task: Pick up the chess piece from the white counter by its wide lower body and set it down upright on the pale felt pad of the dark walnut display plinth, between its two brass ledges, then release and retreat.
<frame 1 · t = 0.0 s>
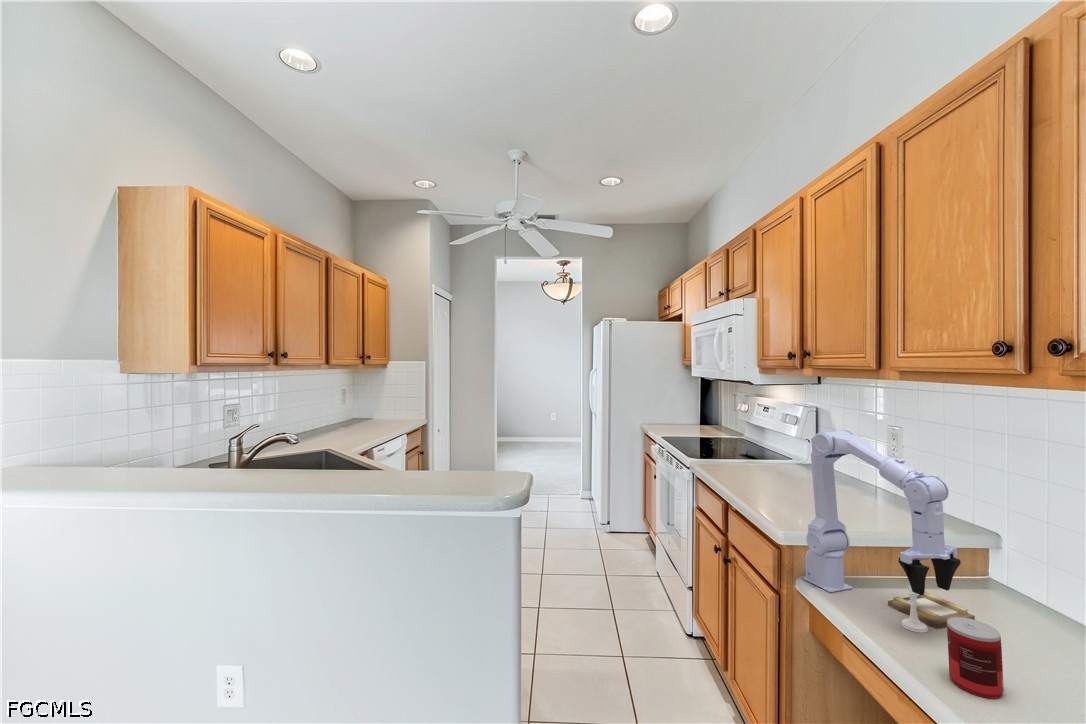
hand: (930, 590, 109), 10 cm above the countertop, fingers open, 7 cm apart
canned food: (976, 686, 91), on the countertop
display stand: (929, 613, 119), on the countertop
chess piece: (914, 628, 112), on the countertop
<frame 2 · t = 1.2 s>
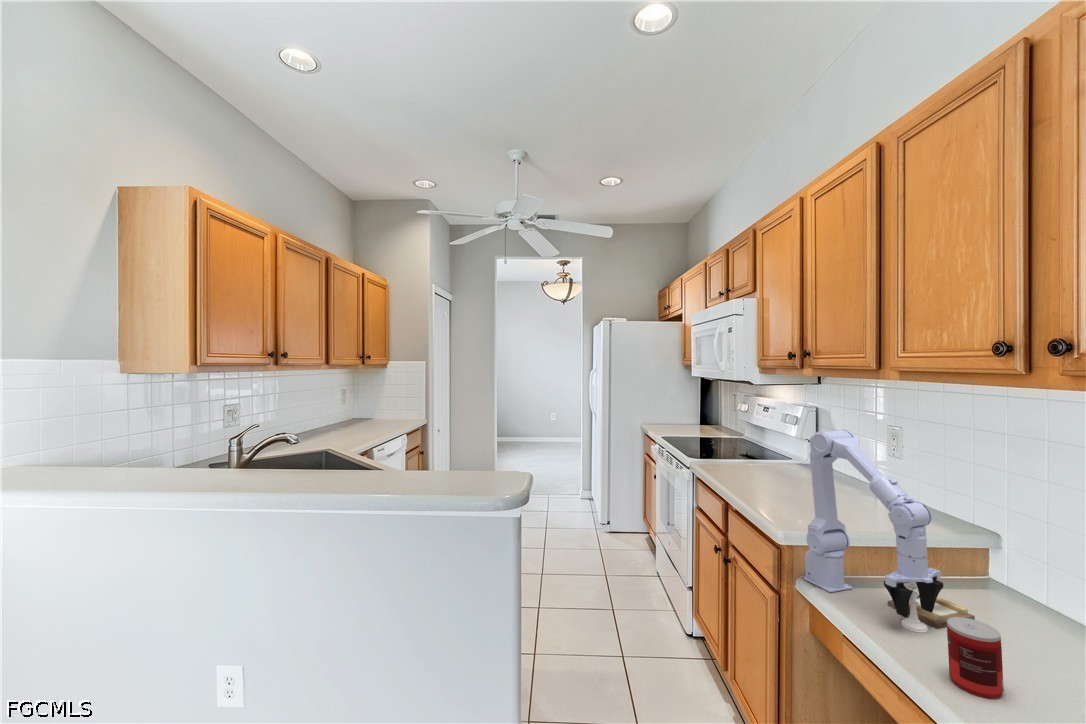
hand: (914, 612, 112), 3 cm above the countertop, fingers open, 7 cm apart
nothing on the countertop moved.
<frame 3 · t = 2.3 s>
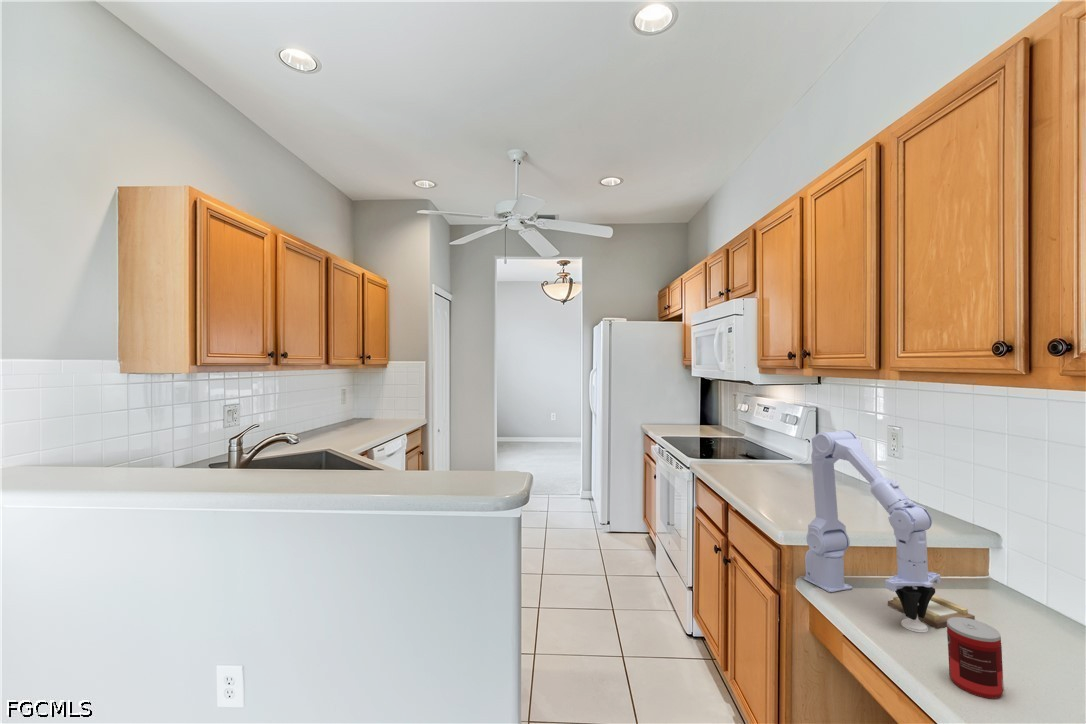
hand: (914, 617, 112), 2 cm above the countertop, fingers closed on chess piece
chess piece: (914, 627, 112), on the countertop, touching gripper
everything else where it was.
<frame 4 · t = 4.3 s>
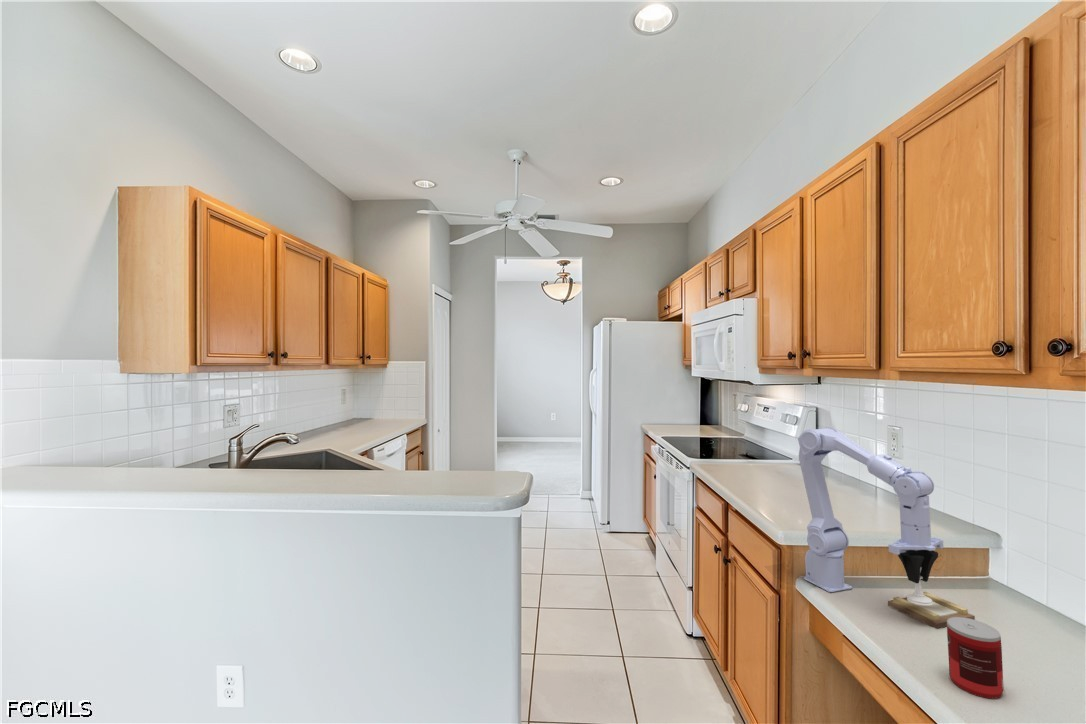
hand: (917, 580, 115), 10 cm above the countertop, fingers closed on chess piece, 2 cm apart
chess piece: (920, 602, 114), point 5 cm above the countertop, touching gripper
everything else where it was.
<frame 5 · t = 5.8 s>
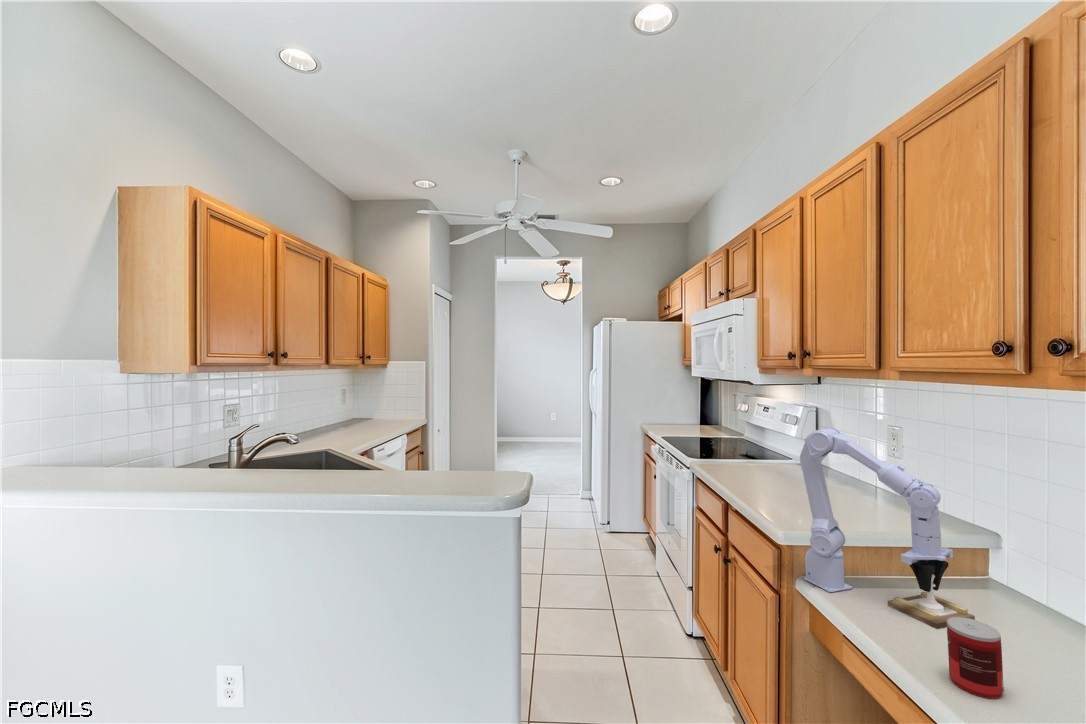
hand: (928, 589, 119), 6 cm above the countertop, fingers closed on chess piece, 2 cm apart
chess piece: (931, 608, 118), point 1 cm above the countertop, touching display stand, gripper
everything else where it was.
when the fingers open (5 cm above the countertop, at t = 6.3 s): chess piece stays where it is, resting on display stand.
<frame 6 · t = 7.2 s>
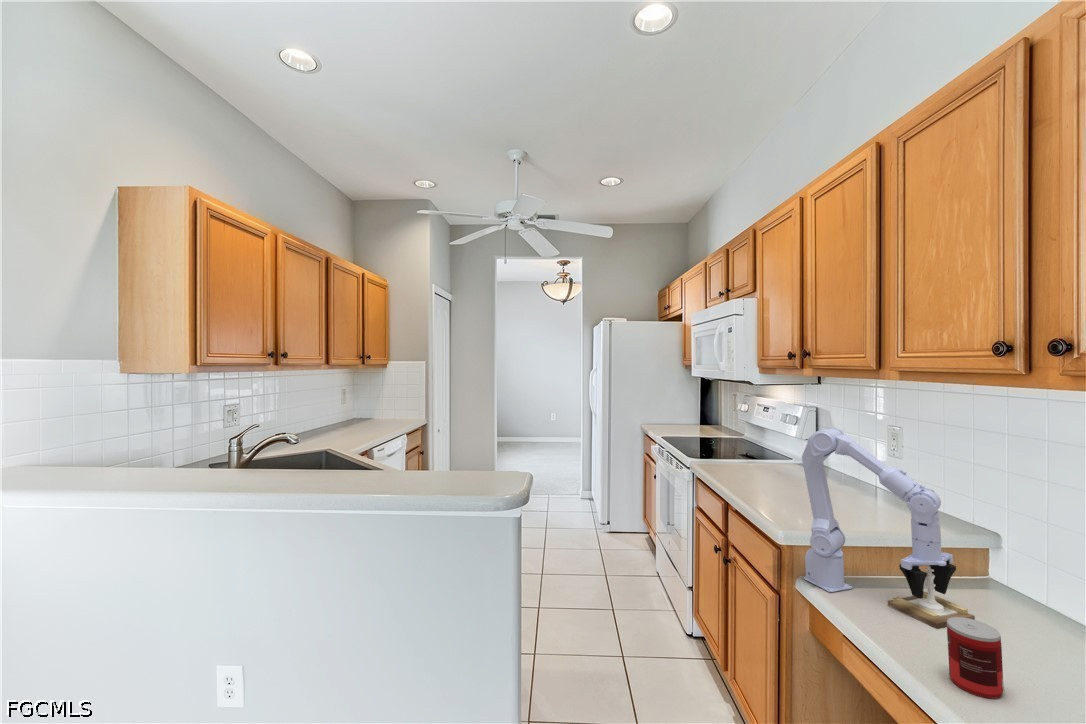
hand: (928, 594, 119), 5 cm above the countertop, fingers open, 7 cm apart
chess piece: (931, 608, 118), point 1 cm above the countertop, touching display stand
everything else where it was.
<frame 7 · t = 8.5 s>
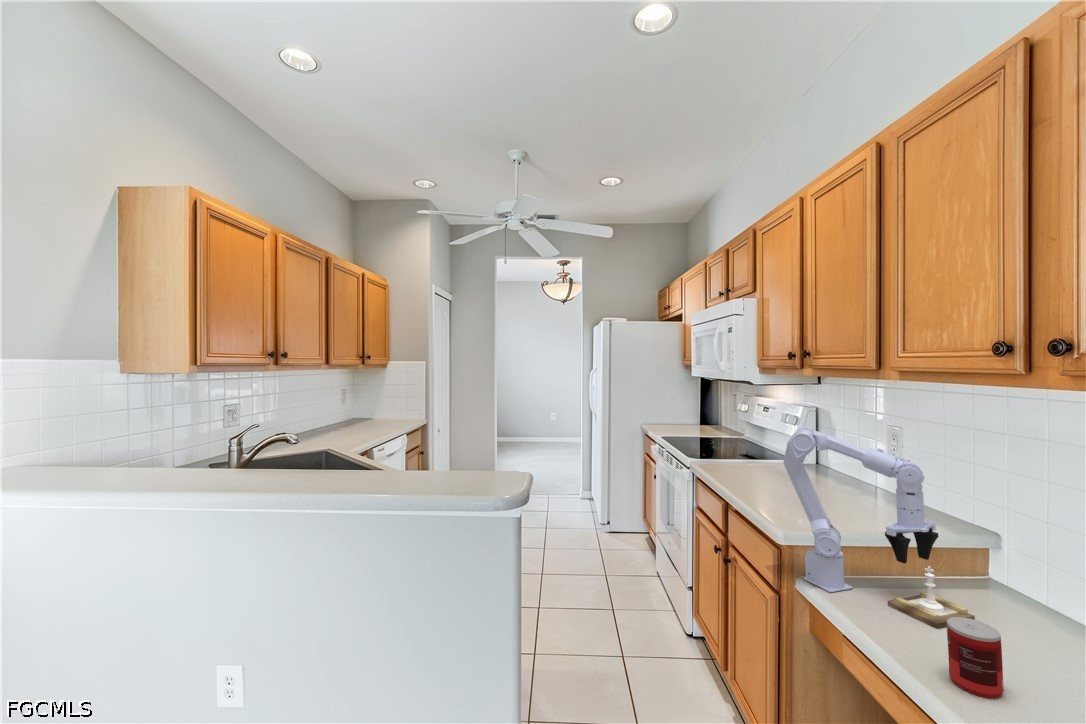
hand: (912, 560, 125), 10 cm above the countertop, fingers open, 7 cm apart
nothing on the countertop moved.
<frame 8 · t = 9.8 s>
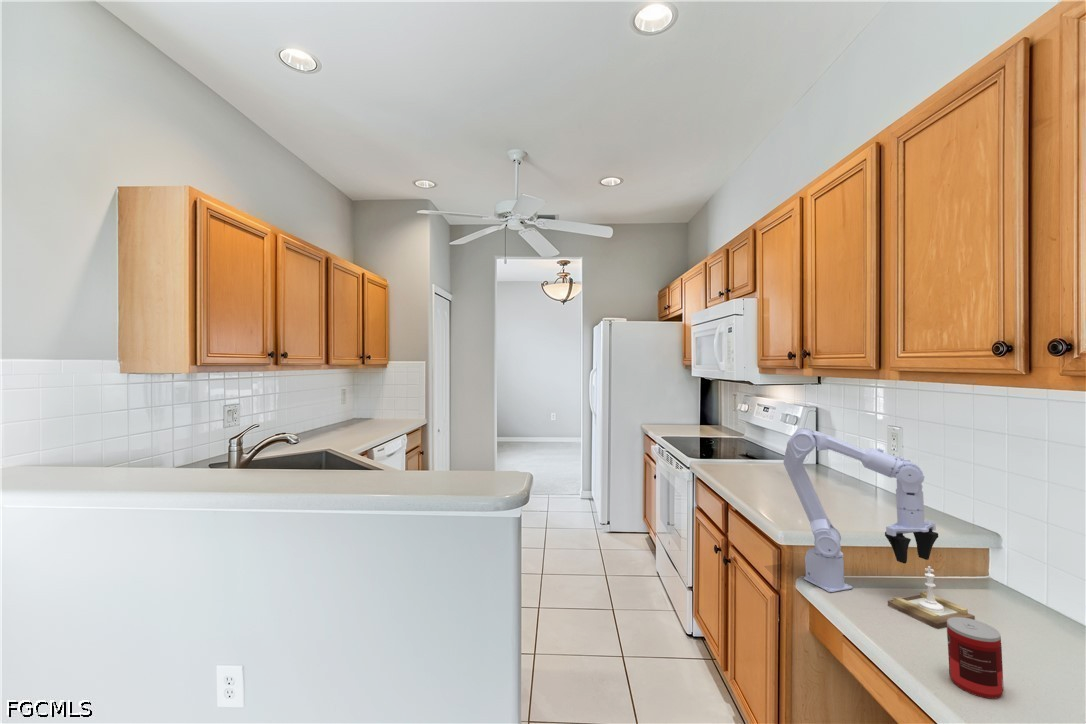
hand: (912, 560, 125), 10 cm above the countertop, fingers open, 7 cm apart
nothing on the countertop moved.
at the end: chess piece inside the target area on the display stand (0.4 cm from its centre), point 1.3 cm above the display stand's base; chess piece tilted 0°; the gripper is holding nothing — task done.
